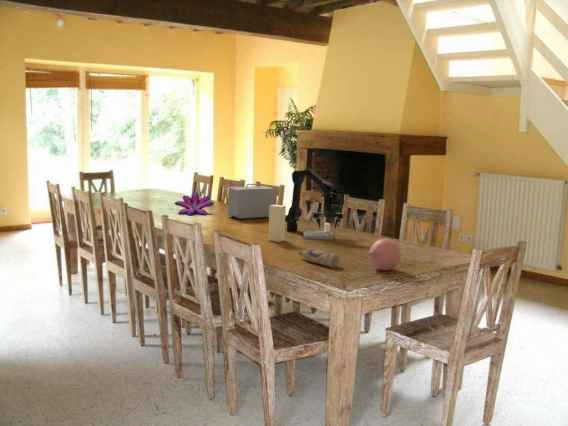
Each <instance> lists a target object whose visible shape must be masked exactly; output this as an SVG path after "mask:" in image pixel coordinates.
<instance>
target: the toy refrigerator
mask: <svg viewBox="0 0 568 426" xmlns="http://www.w3.org/2000/svg"><path fill="white" fill-rule="evenodd" d="M286 209H287V206H286V205H282V204H277V205H270V207H269V217H268V233H267V234H268V235H267V240H268V241H271V242H277V243H278V242H283V241H285V232H286V230H285V229H286V221H285V217H286V211H287V210H286Z"/></svg>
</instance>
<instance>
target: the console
mask: <svg viewBox="0 0 568 426" xmlns="http://www.w3.org/2000/svg"><path fill="white" fill-rule="evenodd" d="M323 232H324V230H302V235H303V239H304V240H334V239H335V236H334V234H333V232H332V231H331V230H330V233H323Z"/></svg>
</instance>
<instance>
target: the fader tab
mask: <svg viewBox="0 0 568 426" xmlns="http://www.w3.org/2000/svg"><path fill="white" fill-rule="evenodd" d="M323 228H324V229H323V231H324V232H323V233H330V231H331V224H330V223H329V222H324V227H323Z"/></svg>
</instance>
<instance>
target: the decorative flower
mask: <svg viewBox="0 0 568 426" xmlns="http://www.w3.org/2000/svg"><path fill="white" fill-rule="evenodd" d="M199 194H200V193H199V192H198V191H194V192H193V193H192V194H191V195H190V196H189V195H183V196H182V200H183V201H182V200H181V201H180V200H177V201H175V202H174V205H176V206H178V207H182V209H180V210H179V211H178V215H186V214H187V216H191V215H194V214H199V215H201V216H206V215H207V213H208V212H207V211H206V210H205V209H204V208H207V207H212V206H213V205H215V202H214V201H209V200H210V195H206V196H203V197H200V195H199Z"/></svg>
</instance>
